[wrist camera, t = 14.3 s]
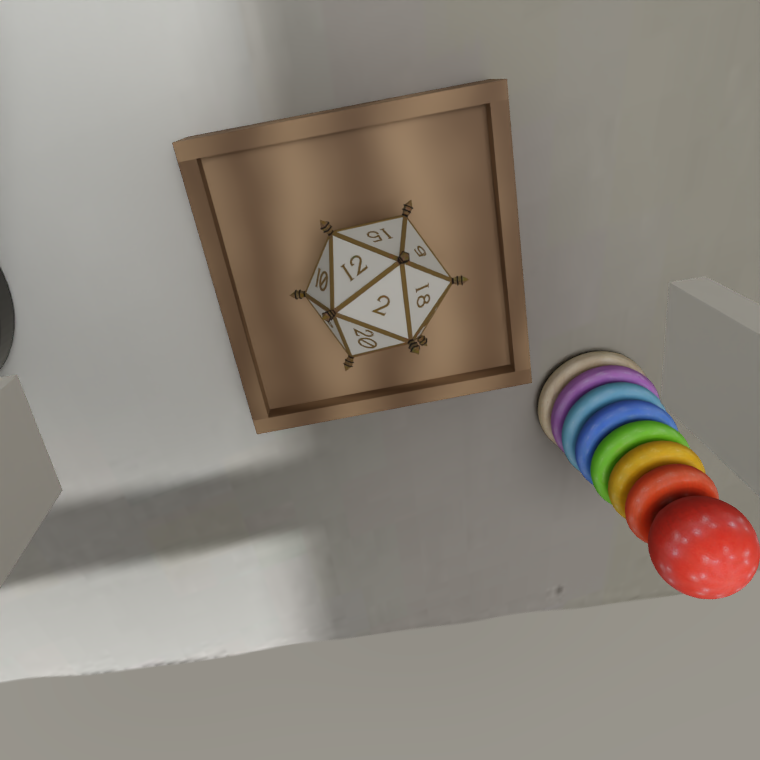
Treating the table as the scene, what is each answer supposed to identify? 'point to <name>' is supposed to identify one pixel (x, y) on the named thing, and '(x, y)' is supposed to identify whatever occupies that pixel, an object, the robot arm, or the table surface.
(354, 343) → the game die
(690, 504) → the stacking toy
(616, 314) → the table surface
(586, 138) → the table surface
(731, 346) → the robot arm
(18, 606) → the table surface
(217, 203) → the square tray
